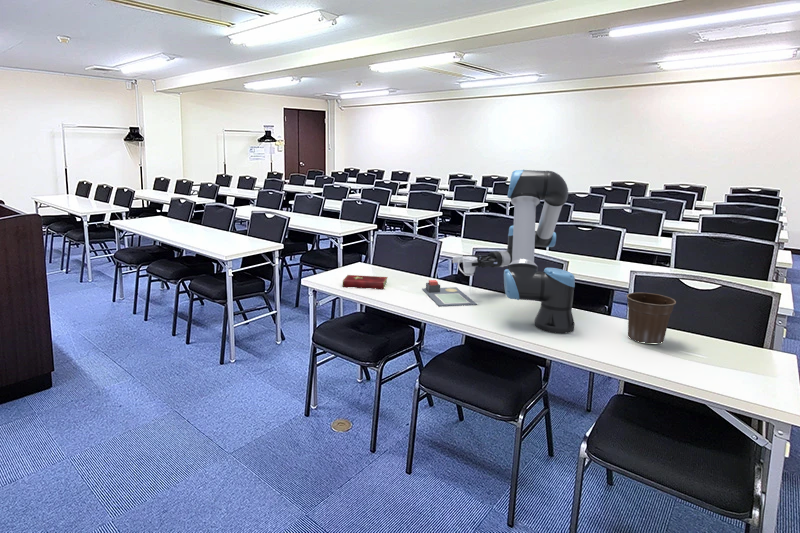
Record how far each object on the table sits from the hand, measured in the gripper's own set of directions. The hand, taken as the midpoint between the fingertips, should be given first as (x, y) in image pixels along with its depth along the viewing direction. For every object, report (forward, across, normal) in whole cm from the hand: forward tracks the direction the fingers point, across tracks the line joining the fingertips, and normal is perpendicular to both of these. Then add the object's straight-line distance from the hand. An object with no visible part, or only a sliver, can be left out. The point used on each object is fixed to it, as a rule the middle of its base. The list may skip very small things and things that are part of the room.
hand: (458, 262), depth 219 cm
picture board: (+1, +5, -18) cm, 19 cm away
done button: (+4, +15, -15) cm, 22 cm away
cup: (-5, 0, -6) cm, 8 cm away
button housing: (+4, +15, -18) cm, 24 cm away
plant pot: (-40, -69, -18) cm, 82 cm away
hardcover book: (+30, +38, -19) cm, 52 cm away
